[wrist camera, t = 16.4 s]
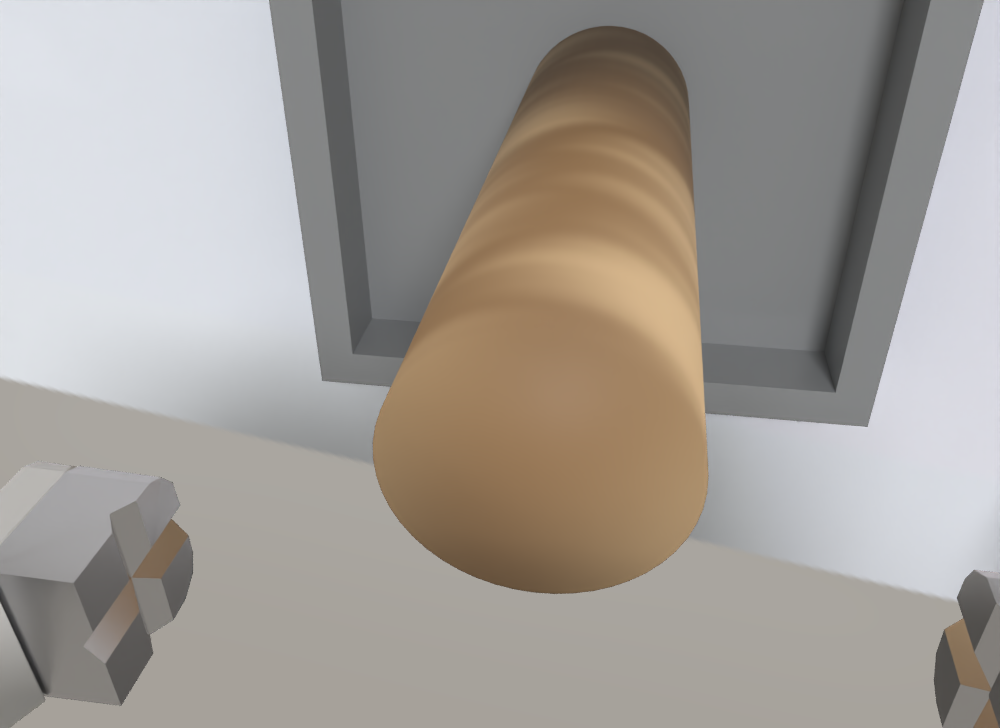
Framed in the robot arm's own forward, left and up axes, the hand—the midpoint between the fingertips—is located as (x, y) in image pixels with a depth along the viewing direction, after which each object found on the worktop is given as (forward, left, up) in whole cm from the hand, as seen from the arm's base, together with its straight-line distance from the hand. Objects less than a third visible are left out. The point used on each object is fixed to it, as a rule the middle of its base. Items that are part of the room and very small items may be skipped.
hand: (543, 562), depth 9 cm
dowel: (0, 0, -16) cm, 16 cm away
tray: (0, 0, -17) cm, 17 cm away
